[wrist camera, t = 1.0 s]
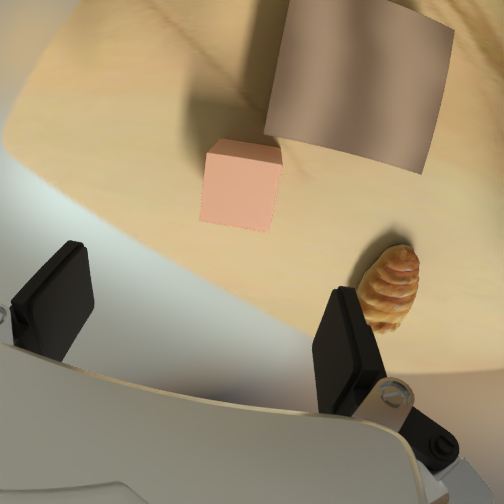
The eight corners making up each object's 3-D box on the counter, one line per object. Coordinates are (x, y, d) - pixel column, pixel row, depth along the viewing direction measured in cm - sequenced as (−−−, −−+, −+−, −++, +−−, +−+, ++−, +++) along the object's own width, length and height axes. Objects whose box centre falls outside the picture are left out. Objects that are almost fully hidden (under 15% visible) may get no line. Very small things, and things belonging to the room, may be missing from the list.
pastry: (371, 234, 29) (382, 254, 26) (428, 246, 29) (443, 265, 26) (343, 311, 34) (349, 335, 30) (396, 317, 34) (406, 340, 31)
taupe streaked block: (426, 36, 20) (454, 30, 15) (398, 159, 25) (421, 174, 21) (291, -7, 19) (295, -26, 15) (265, 125, 25) (263, 134, 21)
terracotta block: (280, 147, 26) (282, 165, 20) (270, 203, 28) (269, 232, 23) (220, 138, 26) (206, 152, 20) (213, 193, 28) (199, 221, 23)
